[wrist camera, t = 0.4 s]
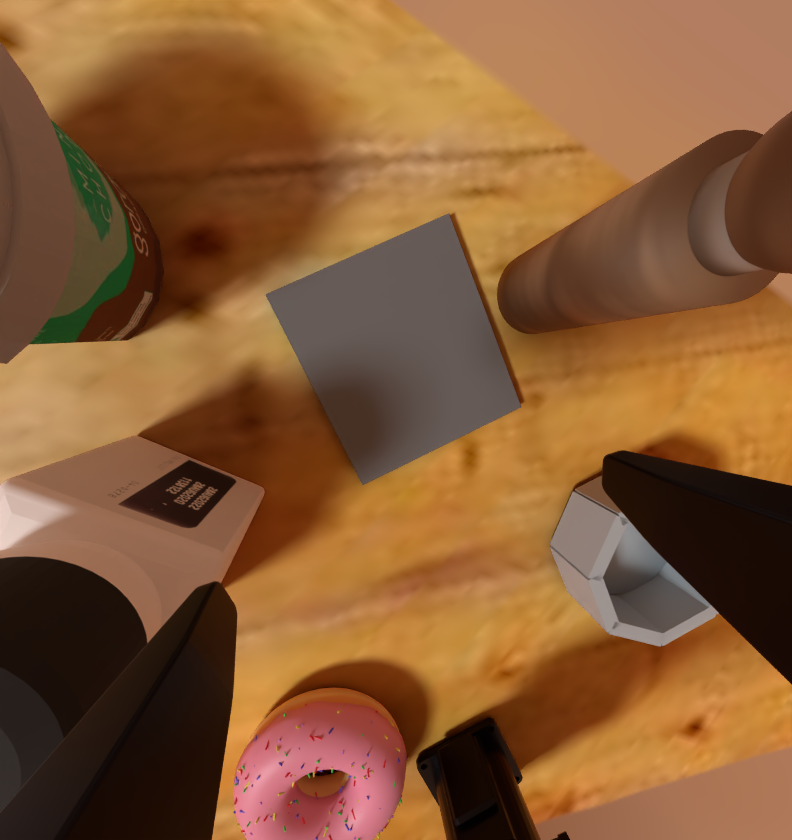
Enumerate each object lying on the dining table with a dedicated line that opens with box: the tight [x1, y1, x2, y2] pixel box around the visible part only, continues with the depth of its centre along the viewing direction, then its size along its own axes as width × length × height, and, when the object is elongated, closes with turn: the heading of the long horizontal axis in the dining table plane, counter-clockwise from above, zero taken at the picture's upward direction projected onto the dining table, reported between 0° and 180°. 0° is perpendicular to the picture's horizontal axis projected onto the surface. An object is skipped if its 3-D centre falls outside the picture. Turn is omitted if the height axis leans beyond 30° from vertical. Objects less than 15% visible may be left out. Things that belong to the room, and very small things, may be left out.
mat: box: [266, 214, 521, 485], centre depth 20 cm, size 12×11×1 cm
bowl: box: [550, 475, 718, 647], centre depth 23 cm, size 10×10×4 cm
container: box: [0, 436, 265, 811], centre depth 14 cm, size 8×8×13 cm
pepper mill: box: [497, 112, 792, 334], centre depth 14 cm, size 5×5×15 cm
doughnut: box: [234, 688, 407, 840], centre depth 22 cm, size 11×11×4 cm
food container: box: [0, 43, 164, 364], centre depth 12 cm, size 12×6×10 cm, turn 36°
